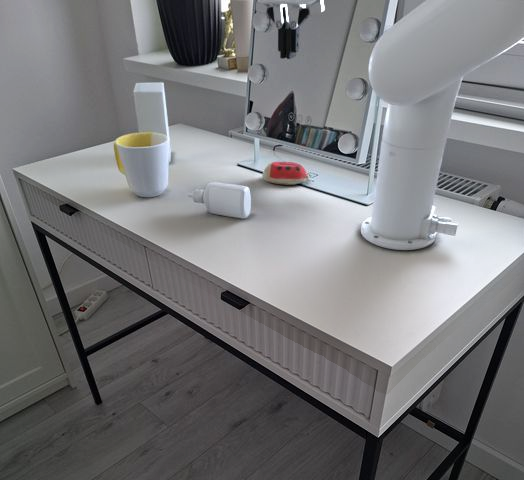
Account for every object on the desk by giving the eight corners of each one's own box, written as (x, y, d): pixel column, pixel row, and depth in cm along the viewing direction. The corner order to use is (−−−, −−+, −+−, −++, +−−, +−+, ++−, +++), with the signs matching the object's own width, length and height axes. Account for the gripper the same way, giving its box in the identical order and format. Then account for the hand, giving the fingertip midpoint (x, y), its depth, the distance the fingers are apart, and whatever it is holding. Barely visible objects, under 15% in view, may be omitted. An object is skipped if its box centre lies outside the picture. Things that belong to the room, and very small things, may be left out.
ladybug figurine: (265, 173, 111) (265, 157, 108) (310, 176, 109) (311, 160, 107) (259, 185, 106) (259, 167, 103) (306, 188, 104) (306, 170, 102)
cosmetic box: (145, 153, 122) (134, 82, 113) (173, 152, 123) (164, 81, 113) (143, 165, 116) (131, 90, 106) (172, 164, 116) (162, 89, 107)
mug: (184, 193, 102) (178, 139, 96) (139, 206, 97) (130, 150, 91) (151, 175, 111) (143, 124, 104) (108, 186, 106) (97, 134, 99)
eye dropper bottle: (239, 202, 88) (179, 193, 91) (247, 222, 93) (189, 213, 96) (248, 182, 89) (188, 174, 93) (254, 203, 94) (197, 195, 98)
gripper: (351, -96, 70) (339, 56, 81) (251, -92, 74) (254, 51, 86) (336, -100, 64) (326, 64, 76) (230, -95, 69) (236, 58, 80)
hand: (288, 57), depth 81 cm, fingers closed
